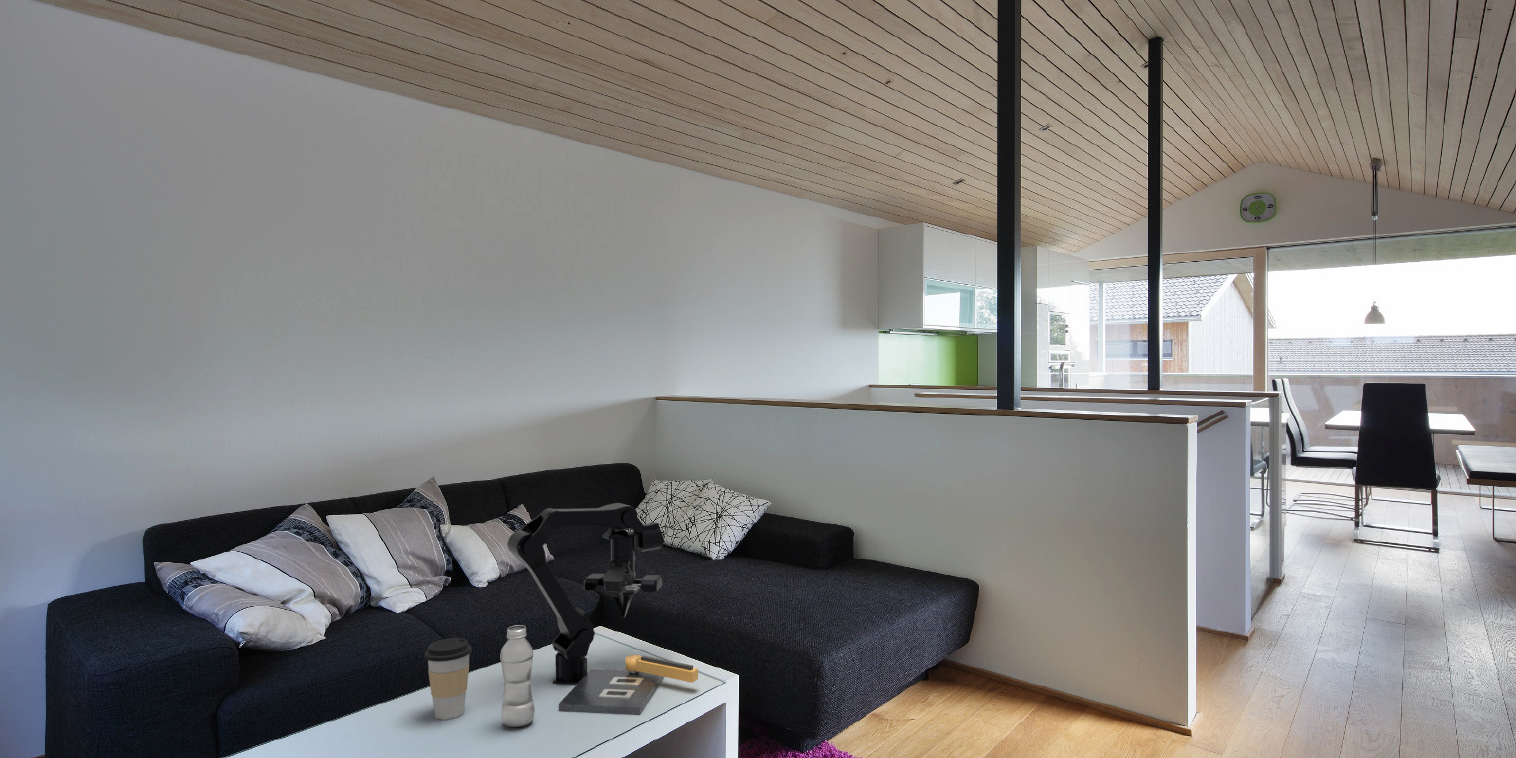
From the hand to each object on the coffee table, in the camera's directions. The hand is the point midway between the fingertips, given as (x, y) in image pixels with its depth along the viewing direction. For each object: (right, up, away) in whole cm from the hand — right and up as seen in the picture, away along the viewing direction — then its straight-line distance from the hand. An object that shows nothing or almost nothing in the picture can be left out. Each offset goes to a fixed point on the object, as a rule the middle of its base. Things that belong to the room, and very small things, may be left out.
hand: (623, 617), depth 191 cm
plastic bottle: (-16, -13, -32) cm, 38 cm away
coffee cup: (-33, -13, -27) cm, 44 cm away
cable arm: (+11, -9, -12) cm, 19 cm away
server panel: (+1, -12, -17) cm, 21 cm away
